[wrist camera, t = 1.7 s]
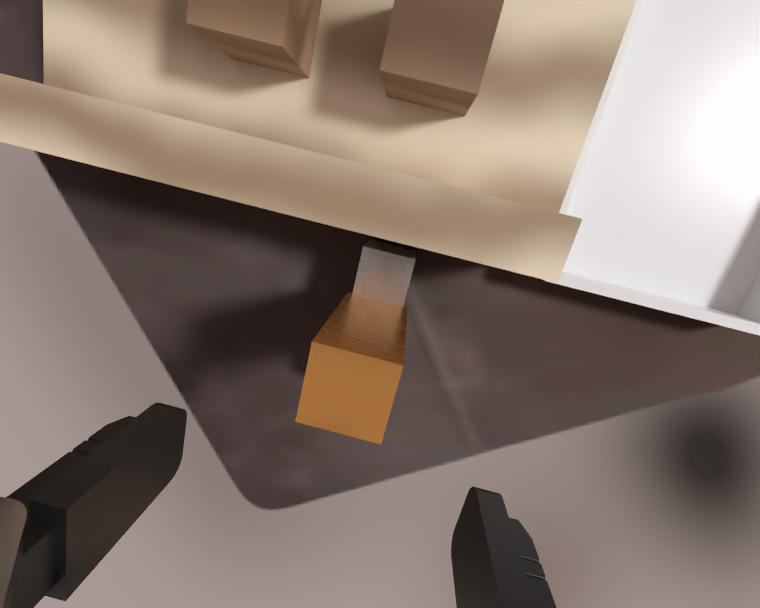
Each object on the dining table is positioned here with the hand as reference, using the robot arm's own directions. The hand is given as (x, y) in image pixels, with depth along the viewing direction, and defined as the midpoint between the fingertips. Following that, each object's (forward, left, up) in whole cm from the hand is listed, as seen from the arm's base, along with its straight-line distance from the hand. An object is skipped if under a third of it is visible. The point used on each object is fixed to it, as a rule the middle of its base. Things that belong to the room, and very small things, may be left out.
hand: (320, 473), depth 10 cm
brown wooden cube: (-14, -8, -12) cm, 20 cm away
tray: (-14, +15, -16) cm, 26 cm away
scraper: (0, 0, -16) cm, 16 cm away
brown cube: (-14, 0, -12) cm, 19 cm away
